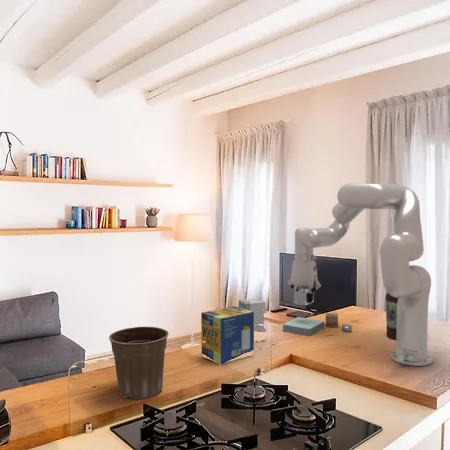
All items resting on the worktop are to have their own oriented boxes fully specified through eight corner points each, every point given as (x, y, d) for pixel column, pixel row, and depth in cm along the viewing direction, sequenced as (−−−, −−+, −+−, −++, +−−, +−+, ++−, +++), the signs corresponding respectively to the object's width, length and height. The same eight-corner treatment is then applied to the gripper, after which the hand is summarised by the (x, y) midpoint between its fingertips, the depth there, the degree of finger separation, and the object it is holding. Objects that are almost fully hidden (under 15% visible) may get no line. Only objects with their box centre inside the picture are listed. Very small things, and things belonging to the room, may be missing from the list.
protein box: (200, 357, 156) (200, 312, 155) (234, 348, 165) (234, 305, 165) (220, 365, 148) (220, 318, 147) (254, 355, 157) (254, 310, 157)
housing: (313, 301, 191) (313, 288, 191) (305, 305, 184) (305, 291, 184) (302, 300, 194) (302, 286, 193) (294, 303, 187) (294, 289, 187)
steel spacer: (353, 330, 187) (353, 326, 187) (348, 333, 184) (348, 328, 184) (344, 328, 190) (345, 323, 189) (339, 330, 187) (340, 326, 187)
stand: (310, 336, 180) (310, 328, 180) (282, 331, 187) (282, 324, 187) (323, 328, 192) (323, 321, 191) (297, 323, 198) (297, 317, 198)
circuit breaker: (224, 339, 176) (223, 301, 175) (257, 335, 181) (257, 298, 180) (231, 345, 169) (231, 305, 168) (265, 340, 174) (265, 302, 173)
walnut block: (337, 328, 192) (337, 316, 192) (325, 327, 193) (325, 315, 193) (337, 325, 197) (337, 313, 196) (325, 324, 198) (326, 313, 198)
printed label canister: (397, 331, 185) (397, 270, 184) (420, 338, 176) (421, 274, 175) (379, 335, 180) (380, 273, 179) (402, 342, 171) (403, 276, 170)
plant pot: (124, 409, 116) (123, 346, 115) (101, 388, 129) (100, 332, 128) (179, 393, 126) (179, 335, 125) (152, 375, 139) (152, 323, 138)
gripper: (327, 258, 186) (326, 302, 187) (289, 255, 196) (289, 297, 197) (319, 260, 180) (319, 306, 181) (281, 257, 190) (281, 300, 191)
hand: (303, 301), depth 189 cm, fingers closed on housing, 5 cm apart
